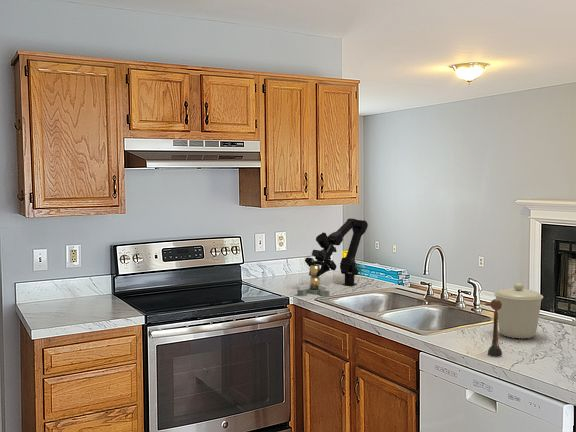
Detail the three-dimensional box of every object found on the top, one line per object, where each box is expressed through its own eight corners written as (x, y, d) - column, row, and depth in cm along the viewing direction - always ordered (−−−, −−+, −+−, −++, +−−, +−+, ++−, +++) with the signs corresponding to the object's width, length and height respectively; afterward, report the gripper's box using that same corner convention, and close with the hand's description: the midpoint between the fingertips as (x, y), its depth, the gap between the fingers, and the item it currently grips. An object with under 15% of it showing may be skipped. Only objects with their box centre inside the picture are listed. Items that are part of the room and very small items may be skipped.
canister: (532, 344, 227) (534, 289, 226) (485, 336, 239) (487, 283, 238) (548, 335, 241) (550, 282, 240) (503, 327, 253) (504, 277, 251)
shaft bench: (313, 290, 335) (313, 281, 334) (338, 294, 323) (338, 285, 323) (292, 294, 322) (292, 285, 321) (317, 299, 310) (317, 289, 310)
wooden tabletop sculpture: (483, 355, 214) (484, 299, 213) (486, 351, 218) (487, 296, 217) (500, 357, 211) (502, 300, 210) (503, 354, 215) (504, 298, 214)
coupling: (310, 286, 331) (310, 264, 330) (320, 286, 330) (320, 265, 329) (309, 288, 326) (309, 266, 325) (319, 288, 325) (319, 266, 325)
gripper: (306, 242, 336) (293, 264, 329) (333, 245, 323) (319, 268, 316) (316, 255, 342) (303, 277, 335) (342, 258, 329) (329, 281, 322)
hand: (313, 275), depth 327 cm, fingers closed on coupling, 5 cm apart
